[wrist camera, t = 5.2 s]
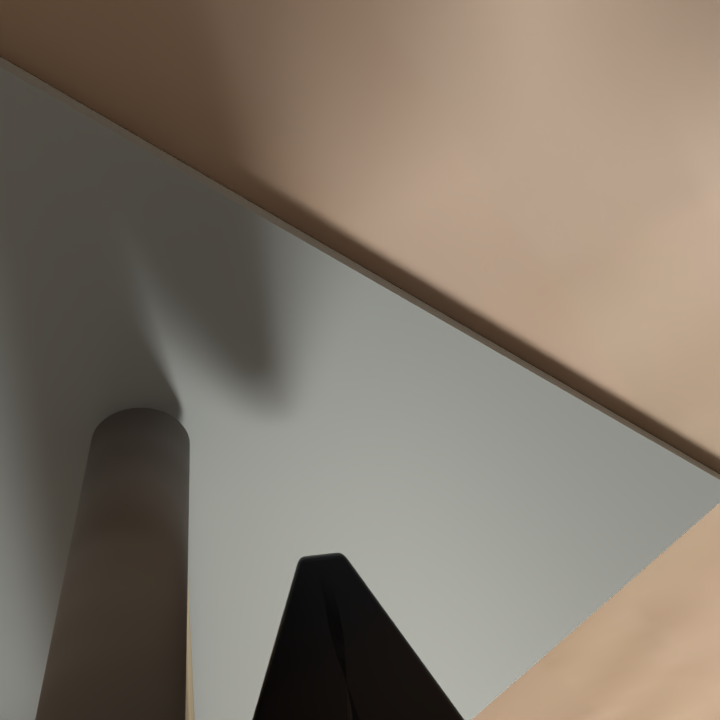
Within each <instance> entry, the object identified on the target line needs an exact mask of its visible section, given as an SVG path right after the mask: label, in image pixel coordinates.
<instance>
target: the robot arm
mask: <svg viewBox="0 0 720 720" xmlns="http://www.w3.org/2000/svg"><path fill="white" fill-rule="evenodd" d="M252 720H464V718H463V717H462V716H461V714H460V713H459V712H458V710H457V709H456V707H455V706H454V705H453V703H452V702H451V701H450V699H449V698H448V696H447V695H446V694H445V692H444V691H443V690H442V688H441V687H440V685H439V684H438V683H437V681H436V680H435V679H434V677H433V676H432V674H431V673H430V672H429V670H428V669H427V667H426V666H425V665H424V663H423V662H422V661H421V659H420V658H419V656H418V655H417V654H416V652H415V651H414V650H413V648H412V647H411V645H410V644H409V643H408V641H407V640H406V639H405V637H404V636H403V634H402V633H401V632H400V630H399V629H398V628H397V626H396V625H395V623H394V622H393V621H392V619H391V618H390V617H389V615H388V614H387V612H386V611H385V610H384V608H383V607H382V606H381V604H380V603H379V601H378V600H377V599H376V597H375V596H374V594H373V593H372V592H371V590H370V589H369V588H368V586H367V585H366V583H365V582H364V581H363V579H362V578H361V577H360V575H359V574H358V572H357V571H356V570H355V568H354V567H353V566H352V564H351V563H350V561H349V560H348V559H347V557H346V556H345V555H343V554H342V553H329V554H320V555H311V556H303V557H301V558H300V559H299V561H298V563H297V566H296V570H295V573H294V577H293V580H292V584H291V587H290V591H289V594H288V598H287V601H286V605H285V608H284V611H283V615H282V618H281V622H280V625H279V629H278V632H277V636H276V639H275V643H274V646H273V650H272V653H271V657H270V660H269V663H268V667H267V670H266V674H265V677H264V681H263V684H262V688H261V691H260V695H259V698H258V702H257V705H256V708H255V712H254V715H253V719H252Z"/></svg>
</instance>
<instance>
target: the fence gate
mask: <svg viewBox="0 0 720 720" xmlns="http://www.w3.org/2000/svg"><path fill="white" fill-rule="evenodd" d="M189 474H190V439H189V436H188V433H187V431H186V429H185V428H184V426H183V425H182V424H181V423H180V422H179V421H178V420H177V419H175V418H174V417H172V416H171V415H169V414H167V413H165V412H162V411H159V410H155V409H150V408H130V409H125V410H122V411H118V412H116V413H114V414H112V415H110V416H108V417H107V418H105V419H104V420H103V421H102V422H101V423H100V424H99V425H98V426H97V428H96V429H95V431H94V433H93V436H92V439H91V444H90V449H89V454H88V459H87V464H86V469H85V474H84V479H83V484H82V489H81V494H80V499H79V504H78V509H77V514H76V519H75V524H74V529H73V534H72V539H71V544H70V549H69V554H68V559H67V564H66V569H65V574H64V579H63V584H62V589H61V594H60V599H59V604H58V609H57V614H56V619H55V624H54V629H53V634H52V639H51V644H50V649H49V654H48V659H47V664H46V669H45V673H44V678H43V683H42V688H41V693H40V698H39V703H38V708H37V713H36V718H35V720H195V716H194V694H193V672H192V650H191V629H190V607H189V585H188V533H189Z"/></svg>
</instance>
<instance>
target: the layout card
mask: <svg viewBox="0 0 720 720" xmlns="http://www.w3.org/2000/svg"><path fill="white" fill-rule="evenodd" d="M130 408H150V409H155V410H159V411H162V412H165V413H167V414H169V415H171V416H172V417H174V418H175V419H177V420H178V421H179V422H180V423H181V424H182V425H183V426H184V428H185V429H186V431H187V433H188V436H189V439H190V474H189V533H188V585H189V607H190V629H191V650H192V672H193V694H194V716H195V720H252V719H253V715H254V712H255V708H256V705H257V702H258V698H259V695H260V691H261V688H262V684H263V681H264V677H265V674H266V670H267V667H268V663H269V660H270V657H271V653H272V650H273V646H274V643H275V639H276V636H277V632H278V629H279V625H280V622H281V618H282V615H283V611H284V608H285V605H286V601H287V598H288V594H289V591H290V587H291V584H292V580H293V577H294V573H295V570H296V566H297V563H298V561H299V559H300V558H301V557H303V556H311V555H320V554H329V553H342V554H343V555H345V556H346V557H347V559H348V560H349V561H350V563H351V564H352V566H353V567H354V568H355V570H356V571H357V572H358V574H359V575H360V577H361V578H362V579H363V581H364V582H365V583H366V585H367V586H368V588H369V589H370V590H371V592H372V593H373V594H374V596H375V597H376V599H377V600H378V601H379V603H380V604H381V606H382V607H383V608H384V610H385V611H386V612H387V614H388V615H389V617H390V618H391V619H392V621H393V622H394V623H395V625H396V626H397V628H398V629H399V630H400V632H401V633H402V634H403V636H404V637H405V639H406V640H407V641H408V643H409V644H410V645H411V647H412V648H413V650H414V651H415V652H416V654H417V655H418V656H419V658H420V659H421V661H422V662H423V663H424V665H425V666H426V667H427V669H428V670H429V672H430V673H431V674H432V676H433V677H434V679H435V680H436V681H437V683H438V684H439V685H440V687H441V688H442V690H443V691H444V692H445V694H446V695H447V696H448V698H449V699H450V701H451V702H452V703H453V705H454V706H455V707H456V709H457V710H458V712H459V713H460V714H461V716H462V717H463V718H464V720H472V719H473V718H474V717H475V716H476V715H478V714H479V713H480V712H481V711H482V710H483V709H484V708H486V707H487V706H488V705H489V704H490V703H491V702H492V701H494V700H495V699H496V698H497V697H498V696H499V695H500V694H502V693H503V692H504V691H505V690H506V689H507V688H508V687H510V686H511V685H512V684H513V683H514V682H515V681H516V680H518V679H519V678H520V677H521V676H522V675H523V674H524V673H526V672H527V671H528V670H529V669H530V668H531V667H532V666H534V665H535V664H536V663H537V662H538V661H539V660H540V659H542V658H543V657H544V656H545V655H546V654H547V653H548V652H550V651H551V650H552V649H553V648H554V647H555V646H556V645H558V644H559V643H560V642H561V641H562V640H563V639H564V638H566V637H567V636H568V635H569V634H570V633H571V632H572V631H573V630H575V629H576V628H577V627H578V626H579V625H580V624H581V623H583V622H584V621H585V620H586V619H587V618H588V617H589V616H591V615H592V614H593V613H594V612H595V611H596V610H597V609H599V608H600V607H601V606H602V605H603V604H604V603H605V602H607V601H608V600H609V599H610V598H611V597H612V596H613V595H615V594H616V593H617V592H618V591H619V590H620V589H621V588H623V587H624V586H625V585H626V584H627V583H628V582H629V581H631V580H632V579H633V578H634V577H635V576H636V575H637V574H639V573H640V572H641V571H642V570H643V569H644V568H645V567H647V566H648V565H649V564H650V563H651V562H652V561H653V560H655V559H656V558H657V557H658V556H659V555H660V554H661V553H663V552H664V551H665V550H666V549H667V548H668V547H669V546H671V545H672V544H673V543H674V542H675V541H676V540H677V539H679V538H680V537H681V536H682V535H683V534H684V533H685V532H687V531H688V530H689V529H690V528H691V527H692V526H693V525H695V524H696V523H697V522H698V521H699V520H700V519H701V518H703V517H704V516H705V515H706V514H707V513H708V512H709V511H711V510H712V509H713V508H714V507H715V506H716V505H717V504H719V503H720V474H718V473H717V472H715V471H713V470H711V469H710V468H708V467H706V466H705V465H703V464H701V463H699V462H698V461H696V460H694V459H693V458H691V457H689V456H687V455H686V454H684V453H682V452H680V451H679V450H677V449H675V448H674V447H672V446H670V445H668V444H667V443H665V442H663V441H662V440H660V439H658V438H656V437H655V436H653V435H651V434H649V433H648V432H646V431H644V430H643V429H641V428H639V427H637V426H636V425H634V424H632V423H631V422H629V421H627V420H625V419H624V418H622V417H620V416H618V415H617V414H615V413H613V412H612V411H610V410H608V409H606V408H605V407H603V406H601V405H600V404H598V403H596V402H594V401H593V400H591V399H589V398H587V397H586V396H584V395H582V394H581V393H579V392H577V391H575V390H574V389H572V388H570V387H569V386H567V385H565V384H563V383H562V382H560V381H558V380H556V379H555V378H553V377H551V376H550V375H548V374H546V373H544V372H543V371H541V370H539V369H538V368H536V367H534V366H532V365H531V364H529V363H527V362H525V361H524V360H522V359H520V358H519V357H517V356H515V355H513V354H512V353H510V352H508V351H507V350H505V349H503V348H501V347H500V346H498V345H496V344H494V343H493V342H491V341H489V340H488V339H486V338H484V337H482V336H481V335H479V334H477V333H476V332H474V331H472V330H470V329H469V328H467V327H465V326H463V325H462V324H460V323H458V322H457V321H455V320H453V319H451V318H450V317H448V316H446V315H445V314H443V313H441V312H439V311H438V310H436V309H434V308H432V307H431V306H429V305H427V304H426V303H424V302H422V301H420V300H419V299H417V298H415V297H414V296H412V295H410V294H408V293H407V292H405V291H403V290H401V289H400V288H398V287H396V286H395V285H393V284H391V283H389V282H388V281H386V280H384V279H383V278H381V277H379V276H377V275H376V274H374V273H372V272H370V271H369V270H367V269H365V268H364V267H362V266H360V265H358V264H357V263H355V262H353V261H352V260H350V259H348V258H346V257H345V256H343V255H341V254H339V253H338V252H336V251H334V250H333V249H331V248H329V247H327V246H326V245H324V244H322V243H321V242H319V241H317V240H315V239H314V238H312V237H310V236H308V235H307V234H305V233H303V232H302V231H300V230H298V229H296V228H295V227H293V226H291V225H290V224H288V223H286V222H284V221H283V220H281V219H279V218H277V217H276V216H274V215H272V214H271V213H269V212H267V211H265V210H264V209H262V208H260V207H259V206H257V205H255V204H253V203H252V202H250V201H248V200H246V199H245V198H243V197H241V196H240V195H238V194H236V193H234V192H233V191H231V190H229V189H228V188H226V187H224V186H222V185H221V184H219V183H217V182H215V181H214V180H212V179H210V178H209V177H207V176H205V175H203V174H202V173H200V172H198V171H197V170H195V169H193V168H191V167H190V166H188V165H186V164H184V163H183V162H181V161H179V160H178V159H176V158H174V157H172V156H171V155H169V154H167V153H166V152H164V151H162V150H160V149H159V148H157V147H155V146H153V145H152V144H150V143H148V142H147V141H145V140H143V139H141V138H140V137H138V136H136V135H135V134H133V133H131V132H129V131H128V130H126V129H124V128H122V127H121V126H119V125H117V124H116V123H114V122H112V121H110V120H109V119H107V118H105V117H104V116H102V115H100V114H98V113H97V112H95V111H93V110H91V109H90V108H88V107H86V106H85V105H83V104H81V103H79V102H78V101H76V100H74V99H73V98H71V97H69V96H67V95H66V94H64V93H62V92H60V91H59V90H57V89H55V88H54V87H52V86H50V85H48V84H47V83H45V82H43V81H42V80H40V79H38V78H36V77H35V76H33V75H31V74H29V73H28V72H26V71H24V70H23V69H21V68H19V67H17V66H16V65H14V64H12V63H11V62H9V61H7V60H5V59H4V58H2V57H0V720H35V718H36V713H37V708H38V703H39V698H40V693H41V688H42V683H43V678H44V673H45V669H46V664H47V659H48V654H49V649H50V644H51V639H52V634H53V629H54V624H55V619H56V614H57V609H58V604H59V599H60V594H61V589H62V584H63V579H64V574H65V569H66V564H67V559H68V554H69V549H70V544H71V539H72V534H73V529H74V524H75V519H76V514H77V509H78V504H79V499H80V494H81V489H82V484H83V479H84V474H85V469H86V464H87V459H88V454H89V449H90V444H91V439H92V436H93V433H94V431H95V429H96V428H97V426H98V425H99V424H100V423H101V422H102V421H103V420H104V419H105V418H107V417H108V416H110V415H112V414H114V413H116V412H118V411H122V410H125V409H130Z"/></svg>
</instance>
